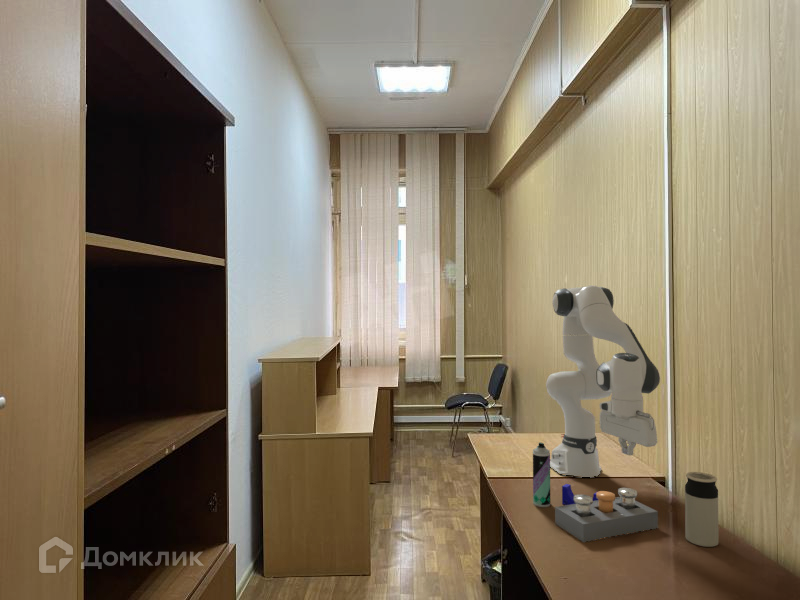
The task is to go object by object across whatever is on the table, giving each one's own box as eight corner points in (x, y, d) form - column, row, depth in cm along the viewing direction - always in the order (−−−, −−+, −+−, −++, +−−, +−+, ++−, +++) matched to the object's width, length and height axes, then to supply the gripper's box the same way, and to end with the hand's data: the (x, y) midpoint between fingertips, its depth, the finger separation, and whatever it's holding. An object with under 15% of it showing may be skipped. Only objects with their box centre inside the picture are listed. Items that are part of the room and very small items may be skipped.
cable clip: (604, 510, 171) (604, 491, 171) (598, 514, 167) (598, 495, 167) (568, 500, 179) (568, 482, 179) (562, 504, 176) (562, 486, 176)
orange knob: (592, 512, 160) (592, 492, 160) (607, 510, 162) (606, 490, 162) (604, 519, 155) (604, 498, 155) (619, 516, 157) (619, 496, 157)
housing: (555, 523, 160) (555, 507, 160) (625, 511, 169) (625, 495, 169) (583, 542, 148) (583, 524, 148) (657, 528, 156) (657, 511, 156)
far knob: (614, 508, 163) (614, 489, 163) (628, 506, 164) (628, 486, 164) (626, 515, 158) (626, 494, 158) (641, 512, 159) (640, 492, 159)
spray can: (529, 502, 177) (529, 441, 177) (543, 499, 179) (542, 440, 179) (540, 508, 172) (539, 446, 172) (554, 505, 174) (553, 444, 174)
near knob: (570, 516, 157) (569, 495, 157) (584, 513, 159) (584, 493, 159) (581, 523, 152) (581, 502, 152) (596, 520, 154) (596, 499, 154)
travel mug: (714, 550, 143) (714, 483, 142) (681, 541, 148) (681, 476, 148) (721, 540, 148) (721, 475, 148) (689, 532, 154) (689, 469, 154)
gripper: (662, 414, 152) (663, 462, 152) (612, 401, 171) (612, 444, 171) (644, 415, 150) (645, 465, 150) (595, 402, 169) (596, 446, 169)
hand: (627, 454), depth 161 cm, fingers closed
